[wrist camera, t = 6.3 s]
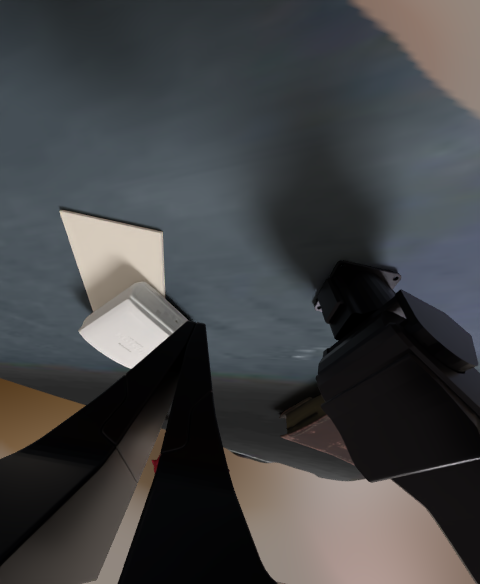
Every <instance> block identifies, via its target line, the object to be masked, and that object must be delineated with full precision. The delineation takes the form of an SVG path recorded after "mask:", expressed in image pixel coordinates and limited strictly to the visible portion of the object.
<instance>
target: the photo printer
mask: <svg viewBox="0 0 480 584" xmlns="http://www.w3.org/2000/svg"><path fill="white" fill-rule="evenodd" d="M186 321H189V320H188V319H186V318H185V317H184V316H183V315H182V314H181V313H180V312H179V311H178V310H177V309H176V308H175V307H174V306H173V305H171V304H170V303H169V302H168V301H167V300H166V299H165V298H164V297H163V296H162V295H160V294H159V293H158V292H157V291H156V290H155V289H154V288H153V287H151V286H150V285H149V284H147V283H146V282H144V281H141V282H137V283H134V284H133V285H131V286H130V287H129V288H127V289H126V290H124V291H123V292H121V293H120V294H119V295H117V296H116V297H114V298H113V299H112V300H110V301H109V302H107V303H106V304H105V305H103V306H102V307H100V308H99V309H97V310H96V311H95V312H93V313H92V314H90V315H89V316H88V317H87V318H86V319H85V321H84V322H83V325H82V327H81V328H80V329H79V330H78V331H79V333H80V334H81V335H82V337H83V338H84V339H85V340H86V341H87V342H88V343H89V344H91V345H92V346H93V347H94V348H96V349H97V350H98V351H100V352H101V353H103V354H104V355H106V356H107V357H109V358H111V359H112V360H114V361H116V362H117V363H119V364H121V365H123V366H126V367H128V368H130V369H132V368H133V367H134V366H135V365H136V364H138V363H139V362H140V361H141V360H142V359H143V358H145V357H146V356H147V355H148V354H149V353H150V352H151V351H153V350H154V349H155V348H156V347H157V346H158V345H160V344H161V343H162V342H163V341H164V340H165V339H166V338H168V337H169V336H170V335H171V334H172V333H173V332H175V331H176V330H177V329H178V328H179V327H180V326H182V325H183V324H184V323H185V322H186Z"/></svg>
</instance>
